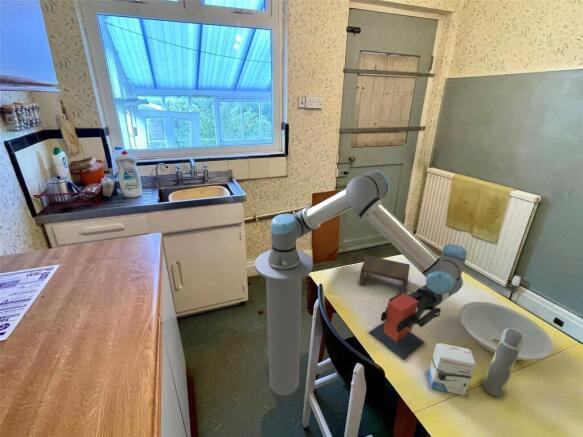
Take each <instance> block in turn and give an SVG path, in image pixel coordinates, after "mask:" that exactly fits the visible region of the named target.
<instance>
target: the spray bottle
mask: <svg viewBox="0 0 583 437" xmlns="http://www.w3.org/2000/svg"><path fill="white" fill-rule="evenodd" d="M523 342H524V337H523V335H522V333H521V332H519V331H518V330H515V329H512V328H508V329H505V330H504V332H503V334H502V337H501V339H500V341H498V347H497V349H496V351H495V353H493V357H492V359H491V361H490V363H489V366H488V369H487V370H486V373H485V376H484V377H483V379H482V381H481V384H482V387H483V389H484V391H486V392H487V393H488V394H490V395H492V396H494V397H502V396H503V395H504V393H505V391H506V387H507V384H508V381H509V379H510V378H511V374H512V372H513V370H514V367H515V364H516V362H517V357H518V355H519V352H520V350H521V347H522V344H523Z"/></svg>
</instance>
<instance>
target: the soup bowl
mask: <svg viewBox="0 0 583 437" xmlns="http://www.w3.org/2000/svg"><path fill="white" fill-rule="evenodd" d="M458 316H459V321H460V323H461V325H462V326H463V328H464V329H465V330H466V331H467V332H468V334H469V335H470V337H472V339H473V340H474V341H475V342H477V343H478V344H479V345H480V346H481V347H482V348H484V349H485V350H487V351H489V352H491V353H493V354H495V351H496V349H497V347H498V344H499V343H498V344H497V343H495V342H494V341H493V340H495V341H498V342H500V339H501V337H502V334H503V332H504V330H505V329H508V328H512V329H515V330H518V331H519V332H521V333H522V335H523V337H524V342H523V344H522V347H521V350H520V352H519V355H518V357H517V360H518V361H519V360H523V361H525V360H527V361H537V360H543V359H545V358H547V357H549V356H550V355H551V353H552V352H553V348H554V346H553V341H552V339H551V337H550V336H549V335H548V333H547V332H546V331H545V330H544V329H543V328H542V327H541V326H540V325H539V324H538V323H537V322H535V320H532V319H531V318H529V317H528V316H526V315H524V314H523V313H520V312H519V311H516V310H514V309H513V308H509V307H507V306H504V305H500V304H497V303H493V302H488V301H473V302H468V303H465V304H464V305H463V306H461V308H460V309H459V312H458ZM517 360H516V361H517Z"/></svg>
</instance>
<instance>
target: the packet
mask: <svg viewBox="0 0 583 437" xmlns="http://www.w3.org/2000/svg"><path fill="white" fill-rule="evenodd" d="M387 302H388V303H387V307H388V308H387V307H386V308H387V314H386V319H385V320H384V322H385V326H384V333H385V334H386V335H388V336H389V337H391V338H392V339H393V340H395V341H396V342H397V341H399V340H400V339H401V338H403V337H404V336H405V335H407V334H408V333H409V332H410V333H412V332H413V331H412V330H413V328H414V325H413V326H411V327H410V328H408V327H405V328H404V329H403V330H401V331H400V332H397V325H398V323H400V322H401V321H403V320H404V319H406V318H407V317H409V316H410V315H411V316H413V317H414V315H415V313H416V311H417V309H418V308H417V304H418V301H417V300H416V299H414V298H412V297H410V296H409V295H407V294H405V293H403V294H401V295H399V296H398V297H396V298H394V299H393V300H391V301H390V302H389V301H387Z"/></svg>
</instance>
